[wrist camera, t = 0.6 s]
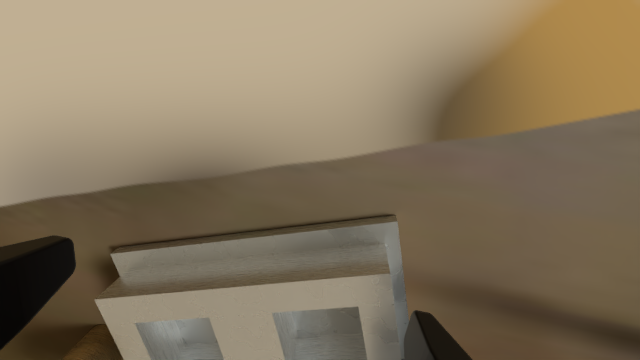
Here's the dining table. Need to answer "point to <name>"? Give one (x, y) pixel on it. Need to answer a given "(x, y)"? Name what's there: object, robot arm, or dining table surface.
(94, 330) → the solid brass peg
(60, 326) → the dining table surface
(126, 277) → the aluminium jig
